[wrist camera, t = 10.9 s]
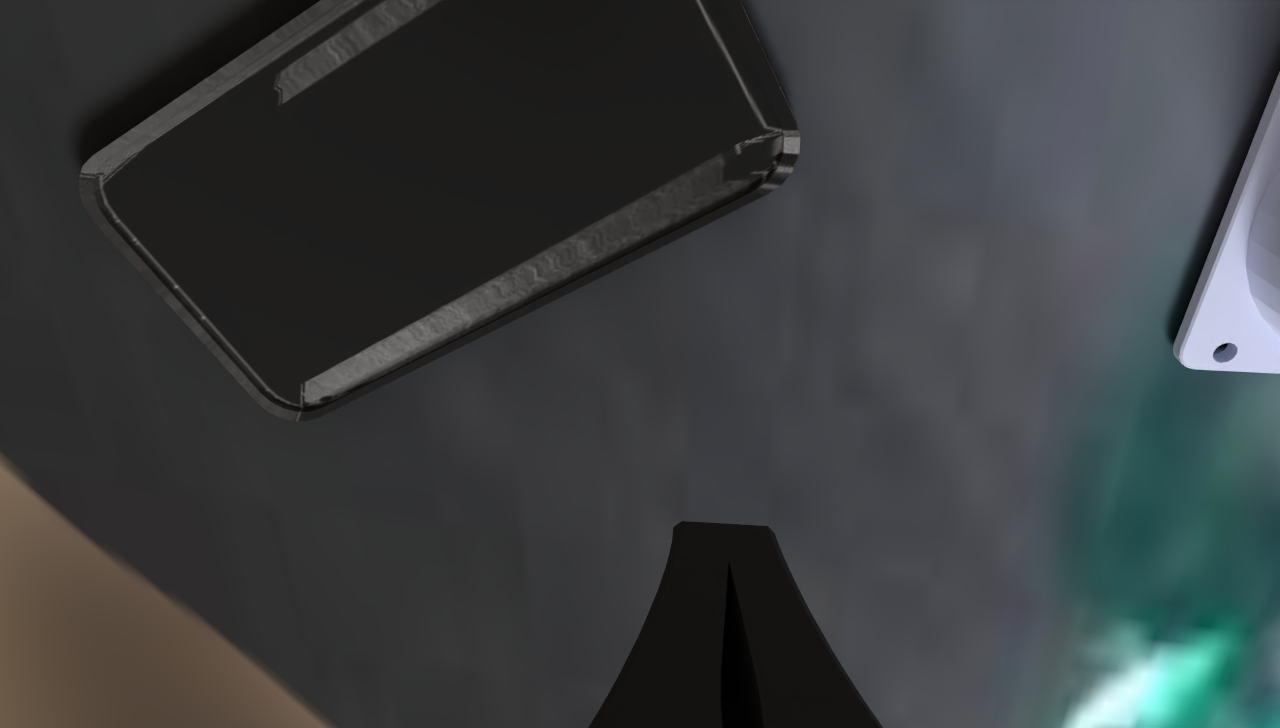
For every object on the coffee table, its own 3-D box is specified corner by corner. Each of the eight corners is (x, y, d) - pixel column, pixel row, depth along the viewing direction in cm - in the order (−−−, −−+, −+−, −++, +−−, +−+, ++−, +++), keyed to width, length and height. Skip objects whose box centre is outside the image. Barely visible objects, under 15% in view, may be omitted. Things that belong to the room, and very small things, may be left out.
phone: (818, 168, 18) (284, 435, 22) (812, 153, 19) (301, 411, 23) (635, -224, 15) (51, 176, 19) (639, -218, 16) (82, 161, 20)
